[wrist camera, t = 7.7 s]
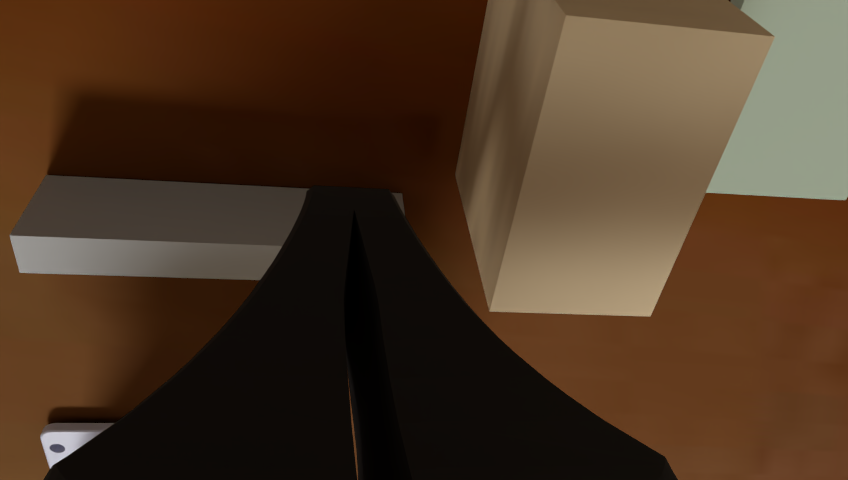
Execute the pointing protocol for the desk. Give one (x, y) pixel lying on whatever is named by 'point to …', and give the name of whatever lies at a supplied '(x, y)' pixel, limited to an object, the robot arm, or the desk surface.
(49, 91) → the desk surface
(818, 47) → the mat
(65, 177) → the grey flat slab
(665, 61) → the block
